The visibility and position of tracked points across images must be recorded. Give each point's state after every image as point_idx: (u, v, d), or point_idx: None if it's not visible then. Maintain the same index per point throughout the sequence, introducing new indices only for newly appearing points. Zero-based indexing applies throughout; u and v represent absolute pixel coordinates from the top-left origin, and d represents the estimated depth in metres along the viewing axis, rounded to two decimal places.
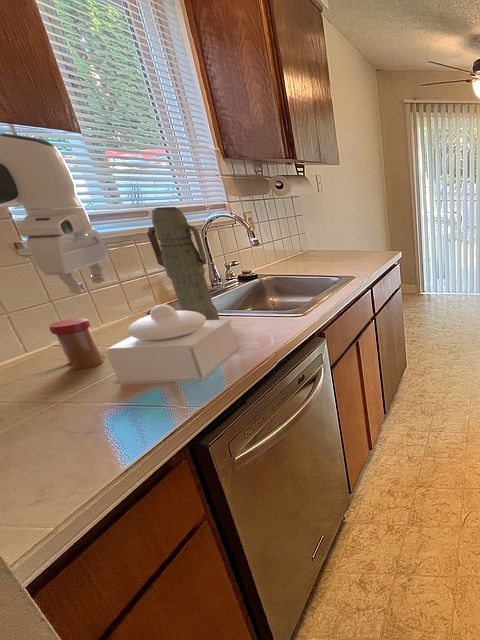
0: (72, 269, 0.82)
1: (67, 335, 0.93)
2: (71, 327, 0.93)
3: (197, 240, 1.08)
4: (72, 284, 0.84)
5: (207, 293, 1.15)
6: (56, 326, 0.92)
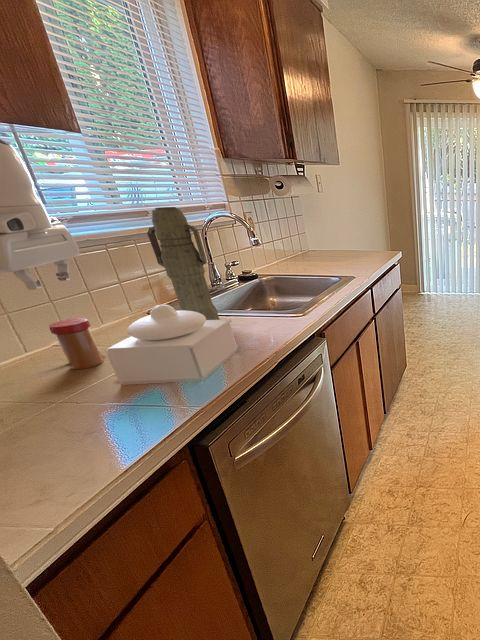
0: (22, 267, 0.83)
1: (67, 335, 0.93)
2: (71, 327, 0.93)
3: (197, 240, 1.08)
4: (27, 281, 0.85)
5: (207, 293, 1.15)
6: (56, 326, 0.92)
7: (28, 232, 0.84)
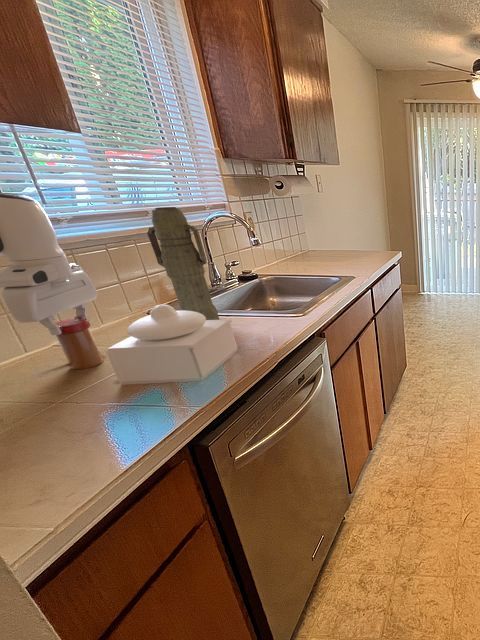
0: (46, 316, 0.87)
1: (67, 335, 0.93)
2: (71, 327, 0.93)
3: (197, 240, 1.08)
4: (51, 327, 0.90)
5: (207, 293, 1.15)
6: None
7: (51, 282, 0.89)
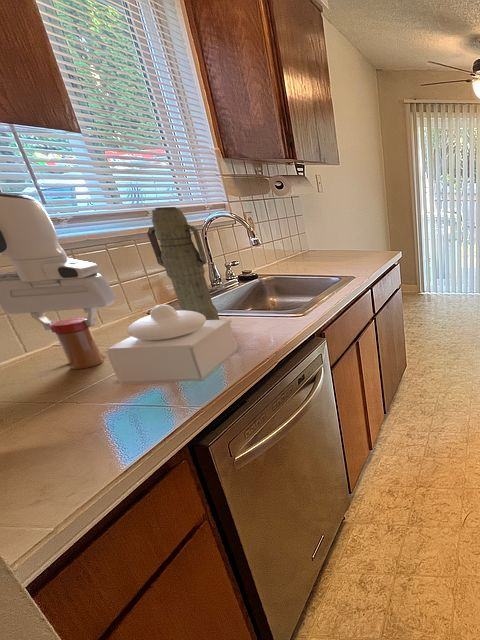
0: None
1: (68, 334, 0.93)
2: None
3: (197, 240, 1.08)
4: (93, 317, 0.96)
5: (207, 293, 1.15)
6: (81, 321, 0.95)
7: None
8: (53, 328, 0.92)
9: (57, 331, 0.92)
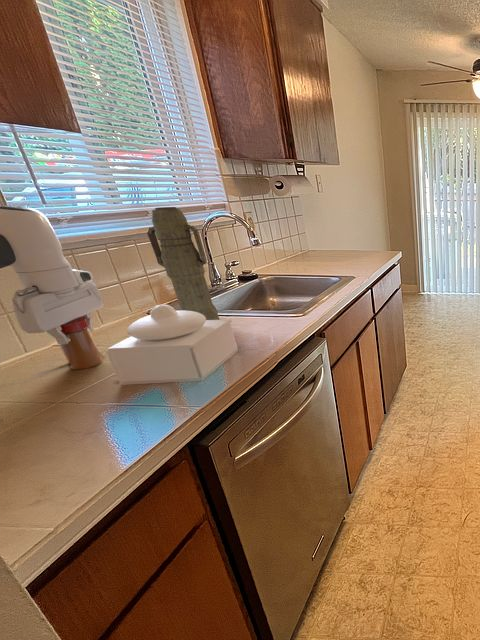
0: None
1: None
2: None
3: (197, 240, 1.08)
4: None
5: (207, 293, 1.15)
6: None
7: None
8: (77, 325, 0.94)
9: (82, 327, 0.95)
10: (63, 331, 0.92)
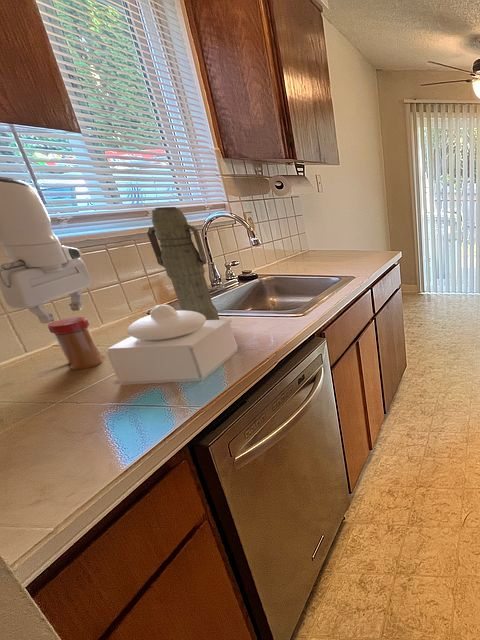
0: None
1: (66, 335, 0.93)
2: None
3: (197, 240, 1.08)
4: None
5: (207, 293, 1.15)
6: (77, 317, 0.97)
7: None
8: (77, 325, 0.94)
9: (82, 327, 0.95)
10: (63, 331, 0.92)
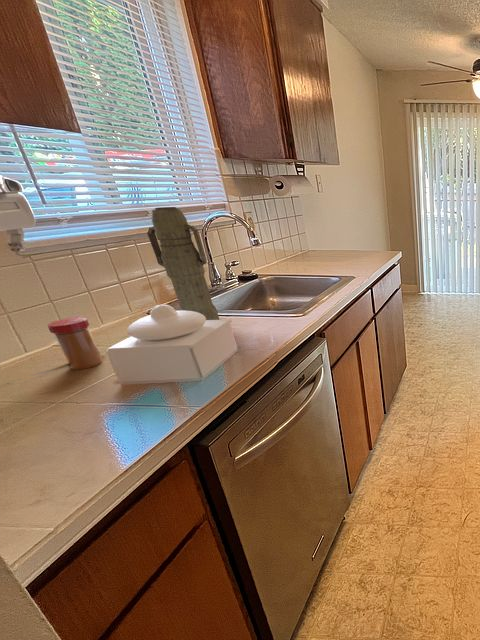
0: None
1: (66, 335, 0.93)
2: None
3: (197, 240, 1.08)
4: None
5: (207, 293, 1.15)
6: (77, 317, 0.97)
7: None
8: (77, 325, 0.94)
9: (82, 327, 0.95)
10: (63, 331, 0.92)
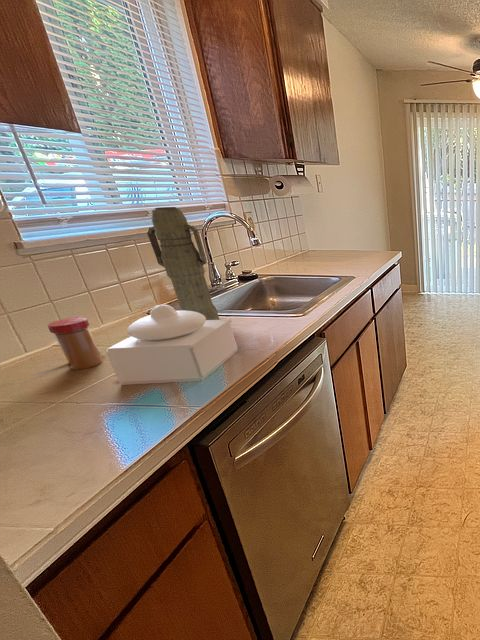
0: None
1: (66, 335, 0.93)
2: None
3: (197, 240, 1.08)
4: None
5: (207, 293, 1.15)
6: (77, 317, 0.97)
7: None
8: (77, 325, 0.94)
9: (82, 327, 0.95)
10: (63, 331, 0.92)
